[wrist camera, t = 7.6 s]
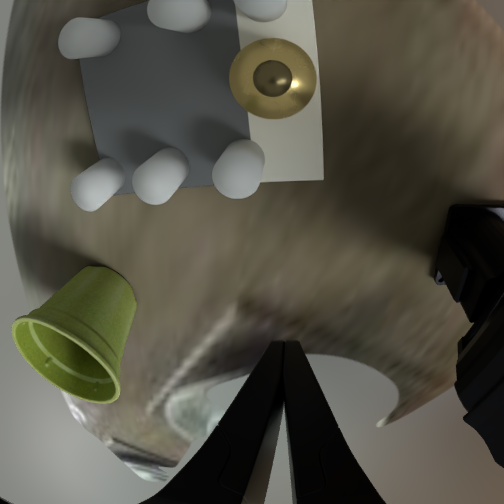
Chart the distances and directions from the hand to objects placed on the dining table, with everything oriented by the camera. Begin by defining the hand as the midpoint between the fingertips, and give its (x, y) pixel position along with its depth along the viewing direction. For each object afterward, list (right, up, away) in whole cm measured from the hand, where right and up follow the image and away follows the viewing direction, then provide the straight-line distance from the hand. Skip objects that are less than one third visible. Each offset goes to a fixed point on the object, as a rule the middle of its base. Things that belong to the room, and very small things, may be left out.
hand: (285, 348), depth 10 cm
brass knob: (0, +12, +6) cm, 13 cm away
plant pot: (-14, 0, +17) cm, 22 cm away
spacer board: (-4, +12, +7) cm, 15 cm away
